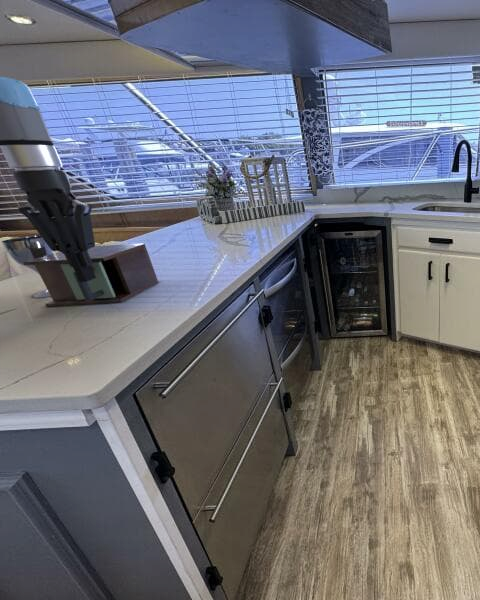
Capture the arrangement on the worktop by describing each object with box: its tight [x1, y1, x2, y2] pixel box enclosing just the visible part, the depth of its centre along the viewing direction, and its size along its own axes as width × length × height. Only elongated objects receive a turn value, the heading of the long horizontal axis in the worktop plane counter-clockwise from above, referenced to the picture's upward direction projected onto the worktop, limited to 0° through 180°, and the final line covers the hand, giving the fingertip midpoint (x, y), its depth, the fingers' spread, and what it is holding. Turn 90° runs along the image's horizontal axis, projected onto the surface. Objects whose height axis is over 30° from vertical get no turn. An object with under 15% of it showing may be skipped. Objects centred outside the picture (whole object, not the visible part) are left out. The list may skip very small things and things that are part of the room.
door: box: [60, 261, 116, 301], centre depth 76 cm, size 9×5×9 cm, turn 94°
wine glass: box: [1, 234, 54, 299], centre depth 85 cm, size 8×8×15 cm
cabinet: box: [23, 243, 159, 308], centre depth 84 cm, size 18×15×11 cm
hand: (88, 279), depth 74 cm, fingers closed
